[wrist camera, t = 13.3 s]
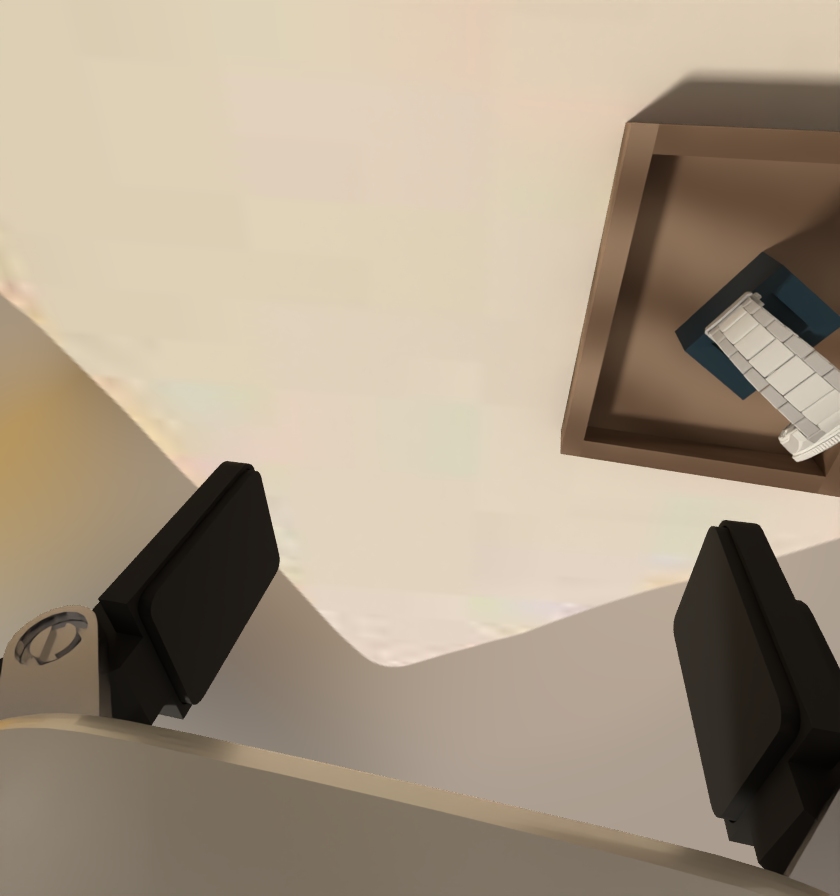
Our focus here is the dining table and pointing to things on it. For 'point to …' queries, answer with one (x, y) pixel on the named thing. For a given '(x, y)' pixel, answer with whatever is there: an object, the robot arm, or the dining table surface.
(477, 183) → the dining table surface
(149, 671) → the robot arm
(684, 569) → the dining table surface
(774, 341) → the watch
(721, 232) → the tray
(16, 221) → the dining table surface
